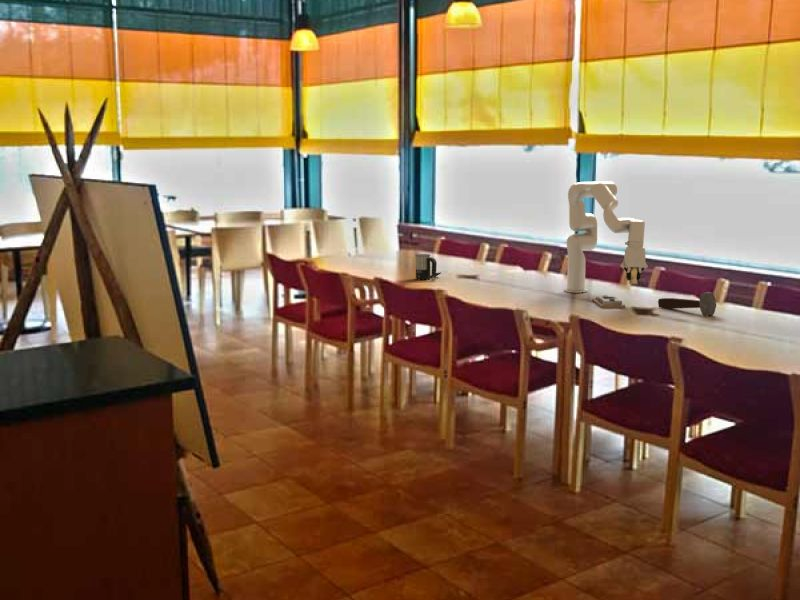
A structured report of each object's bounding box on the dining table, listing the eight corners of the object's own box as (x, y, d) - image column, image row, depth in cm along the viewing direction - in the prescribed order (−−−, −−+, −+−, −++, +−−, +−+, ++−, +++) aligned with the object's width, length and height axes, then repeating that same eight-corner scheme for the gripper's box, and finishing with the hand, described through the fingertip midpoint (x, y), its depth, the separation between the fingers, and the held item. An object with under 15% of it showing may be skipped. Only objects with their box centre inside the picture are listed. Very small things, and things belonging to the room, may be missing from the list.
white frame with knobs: (592, 300, 445) (592, 292, 444) (615, 300, 445) (615, 292, 444) (601, 307, 425) (601, 299, 425) (625, 307, 425) (625, 299, 425)
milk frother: (413, 280, 512) (413, 255, 509) (420, 276, 527) (420, 252, 524) (436, 281, 508) (436, 256, 505) (442, 277, 523) (443, 252, 520)
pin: (627, 282, 438) (629, 265, 436) (635, 282, 438) (636, 265, 436) (629, 284, 434) (631, 266, 432) (637, 284, 434) (639, 266, 432)
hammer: (657, 315, 426) (710, 316, 402) (656, 292, 426) (709, 293, 401) (663, 313, 429) (716, 315, 405) (662, 291, 428) (715, 291, 404)
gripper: (620, 245, 428) (618, 281, 432) (654, 245, 428) (651, 281, 432) (617, 243, 435) (614, 278, 439) (649, 243, 436) (647, 279, 439)
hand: (633, 279), depth 436 cm, fingers closed on pin, 4 cm apart
